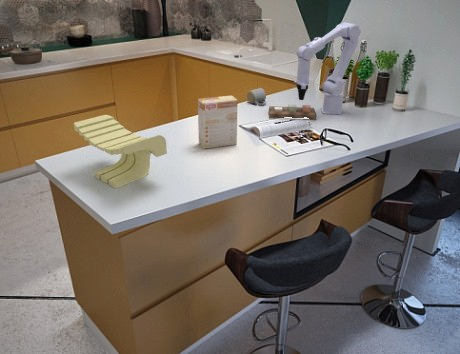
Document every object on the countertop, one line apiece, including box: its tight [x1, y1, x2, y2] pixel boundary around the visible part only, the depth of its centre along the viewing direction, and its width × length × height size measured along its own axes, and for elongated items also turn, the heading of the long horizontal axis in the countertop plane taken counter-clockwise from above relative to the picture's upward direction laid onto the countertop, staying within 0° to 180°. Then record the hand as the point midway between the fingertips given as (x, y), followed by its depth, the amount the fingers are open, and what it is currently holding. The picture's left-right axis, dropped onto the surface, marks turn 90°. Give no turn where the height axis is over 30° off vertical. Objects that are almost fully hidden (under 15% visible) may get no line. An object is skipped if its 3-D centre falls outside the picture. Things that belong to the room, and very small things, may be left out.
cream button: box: [274, 106, 283, 112], centre depth 218 cm, size 4×4×3 cm
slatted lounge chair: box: [73, 114, 168, 189], centre depth 150 cm, size 30×16×18 cm, turn 48°
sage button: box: [287, 104, 298, 112], centre depth 217 cm, size 4×4×3 cm
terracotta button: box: [302, 104, 312, 113], centre depth 216 cm, size 4×4×3 cm
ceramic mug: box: [246, 87, 267, 107], centre depth 234 cm, size 11×8×8 cm
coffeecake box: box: [197, 95, 238, 150], centre depth 178 cm, size 15×7×20 cm, turn 111°
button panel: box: [268, 105, 318, 121], centre depth 218 cm, size 23×12×2 cm, turn 87°
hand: (301, 99), depth 214 cm, fingers closed
